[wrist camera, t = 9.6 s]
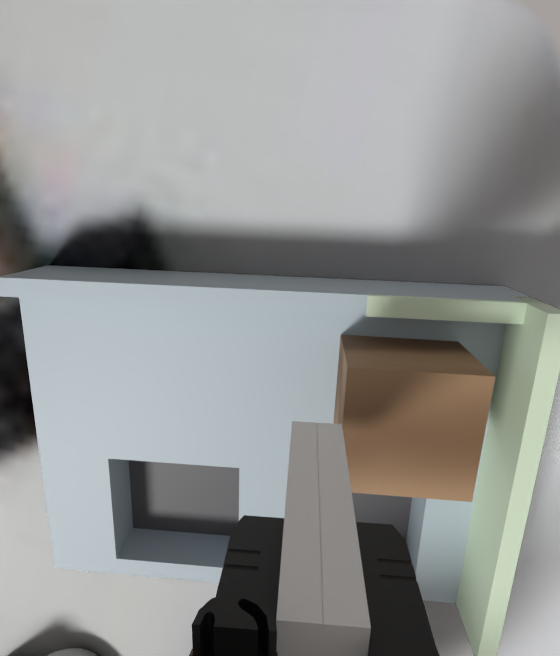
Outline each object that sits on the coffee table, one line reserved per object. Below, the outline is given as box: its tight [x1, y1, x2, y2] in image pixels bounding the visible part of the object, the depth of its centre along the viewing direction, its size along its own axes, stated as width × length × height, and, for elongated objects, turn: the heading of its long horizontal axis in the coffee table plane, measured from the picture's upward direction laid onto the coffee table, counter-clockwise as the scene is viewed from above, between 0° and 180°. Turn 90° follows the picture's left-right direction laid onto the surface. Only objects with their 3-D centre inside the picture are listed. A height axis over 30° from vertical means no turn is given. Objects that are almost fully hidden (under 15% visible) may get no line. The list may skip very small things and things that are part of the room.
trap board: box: [0, 265, 560, 656], centre depth 21 cm, size 16×22×6 cm
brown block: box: [333, 335, 495, 502], centre depth 18 cm, size 5×5×4 cm
